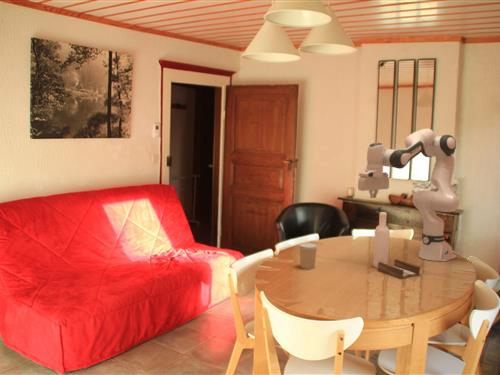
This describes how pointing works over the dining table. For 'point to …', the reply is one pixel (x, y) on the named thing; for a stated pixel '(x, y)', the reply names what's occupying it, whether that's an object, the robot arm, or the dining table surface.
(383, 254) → the bottle
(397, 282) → the dining table surface
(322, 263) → the dining table surface
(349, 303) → the dining table surface
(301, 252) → the coffee cup
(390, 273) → the cradle
